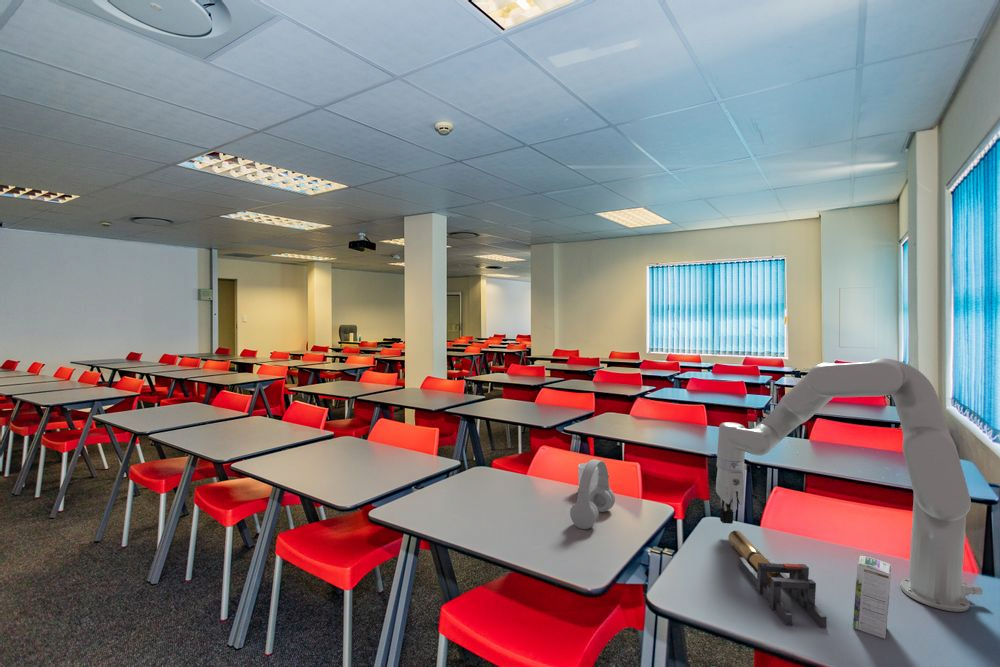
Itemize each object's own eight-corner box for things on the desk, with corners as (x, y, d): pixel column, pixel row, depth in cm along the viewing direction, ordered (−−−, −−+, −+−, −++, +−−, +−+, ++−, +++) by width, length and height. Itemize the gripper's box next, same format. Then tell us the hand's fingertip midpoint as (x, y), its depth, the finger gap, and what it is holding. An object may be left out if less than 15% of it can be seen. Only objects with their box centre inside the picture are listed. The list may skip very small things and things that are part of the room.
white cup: (573, 489, 185) (574, 463, 184) (592, 487, 187) (593, 462, 187) (583, 497, 177) (584, 470, 177) (602, 495, 180) (603, 468, 179)
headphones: (593, 533, 149) (595, 471, 148) (568, 526, 153) (570, 466, 152) (615, 511, 166) (617, 455, 165) (592, 505, 170) (593, 451, 169)
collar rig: (771, 567, 131) (773, 534, 130) (828, 627, 106) (830, 587, 105) (736, 565, 131) (738, 533, 131) (784, 625, 106) (786, 585, 106)
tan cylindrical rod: (728, 544, 143) (728, 530, 143) (743, 545, 143) (744, 530, 143) (759, 582, 123) (760, 565, 123) (777, 583, 123) (778, 566, 123)
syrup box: (854, 616, 110) (857, 553, 109) (887, 627, 106) (891, 562, 106) (852, 628, 106) (856, 563, 105) (887, 640, 102) (891, 573, 101)
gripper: (754, 472, 140) (749, 534, 141) (732, 456, 155) (729, 512, 156) (727, 471, 141) (723, 532, 142) (708, 455, 156) (705, 511, 157)
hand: (726, 522), depth 149 cm, fingers closed
